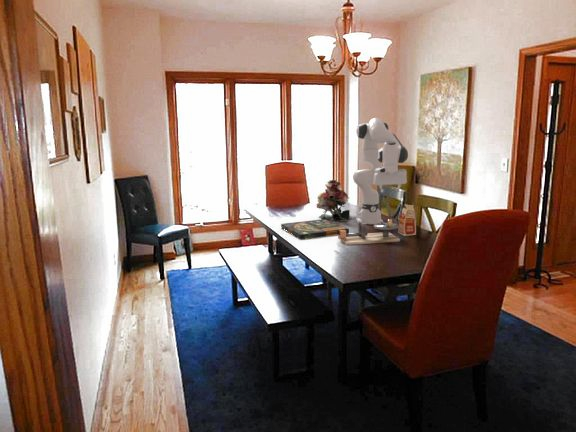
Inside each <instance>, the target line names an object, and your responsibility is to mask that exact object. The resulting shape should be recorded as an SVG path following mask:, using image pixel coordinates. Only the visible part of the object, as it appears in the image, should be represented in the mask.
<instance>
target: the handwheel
mask: <svg viewBox="0 0 576 432" xmlns="http://www.w3.org/2000/svg"><path fill="white" fill-rule="evenodd" d="M373 228H374V229H377V230H382V231H383V230H389V231H392V230H393V231H394V230H398V228H399V224H397V223H393V219H392V218H388V219H387V222H384V221H383V222H381V223H376V224H373Z"/></svg>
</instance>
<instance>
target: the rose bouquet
mask: <svg viewBox="0 0 576 432" xmlns="http://www.w3.org/2000/svg"><path fill="white" fill-rule="evenodd" d="M341 185H342V182H339V181H337V179H331V180H330V179H329V180H328V181H327V182H326V183H325V185H324V186H325V189H324V191H323V192H321V193H320V194H318V195H317V203H316V204H315V205H316V208H317V209H319V210H320V209H322V210H323V212H322V213H324V214H321V215H319V216H318V218H319V219H320V220H321V219H327V220H329V221H332V222H338V220H336V218H339V219H341V220H340V222H345V223H349V222H350V217H351V214H350V213H351V211H350V209H346V210H343V211H342V208H344V207H345V206H344V205H345V204H347V202H348V199H349V195H348V194H347V193H346V192H345V191H344V190H343V187H342V186H341ZM327 212H330V214H327Z"/></svg>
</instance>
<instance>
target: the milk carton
mask: <svg viewBox="0 0 576 432" xmlns="http://www.w3.org/2000/svg"><path fill="white" fill-rule="evenodd" d="M415 213H416V212H415V208H414V205H413V204H408V203H407V204H406V203H404V205H403V207H402V210H401V214H400V216H399V217H400V218H399V222H398V228H397V230H398V231H397V234H400V235H402V236H403V237H409V236H414V235H415V236H416V235H417V223H416V214H415Z"/></svg>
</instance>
